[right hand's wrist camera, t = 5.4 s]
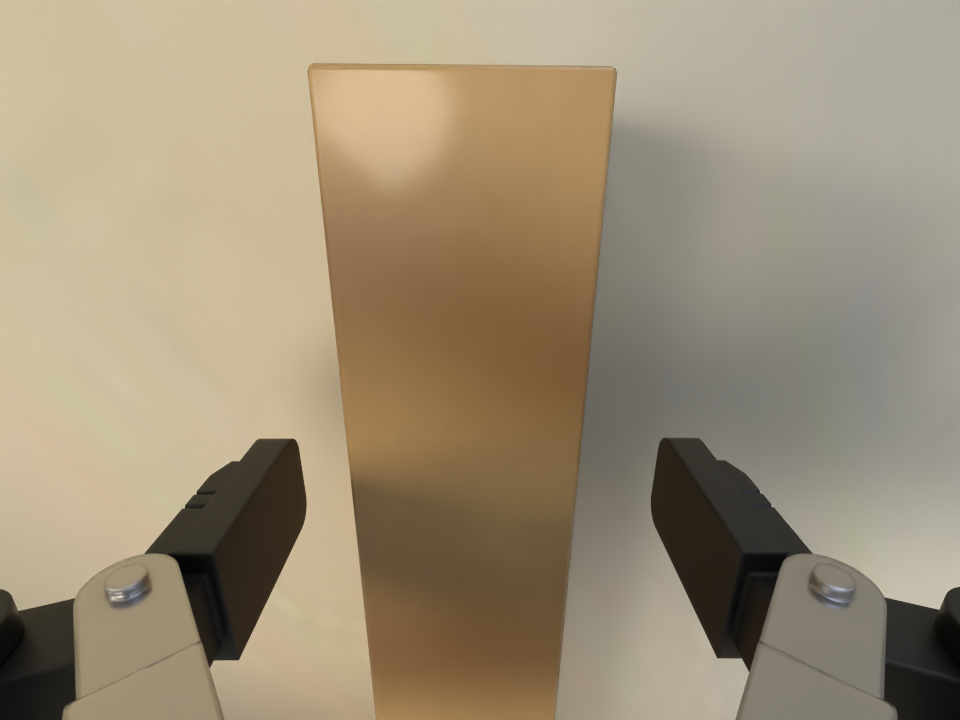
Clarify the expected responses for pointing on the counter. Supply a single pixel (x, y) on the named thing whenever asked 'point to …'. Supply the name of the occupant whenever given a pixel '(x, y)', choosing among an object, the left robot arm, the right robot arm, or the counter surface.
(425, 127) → the post
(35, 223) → the counter surface
